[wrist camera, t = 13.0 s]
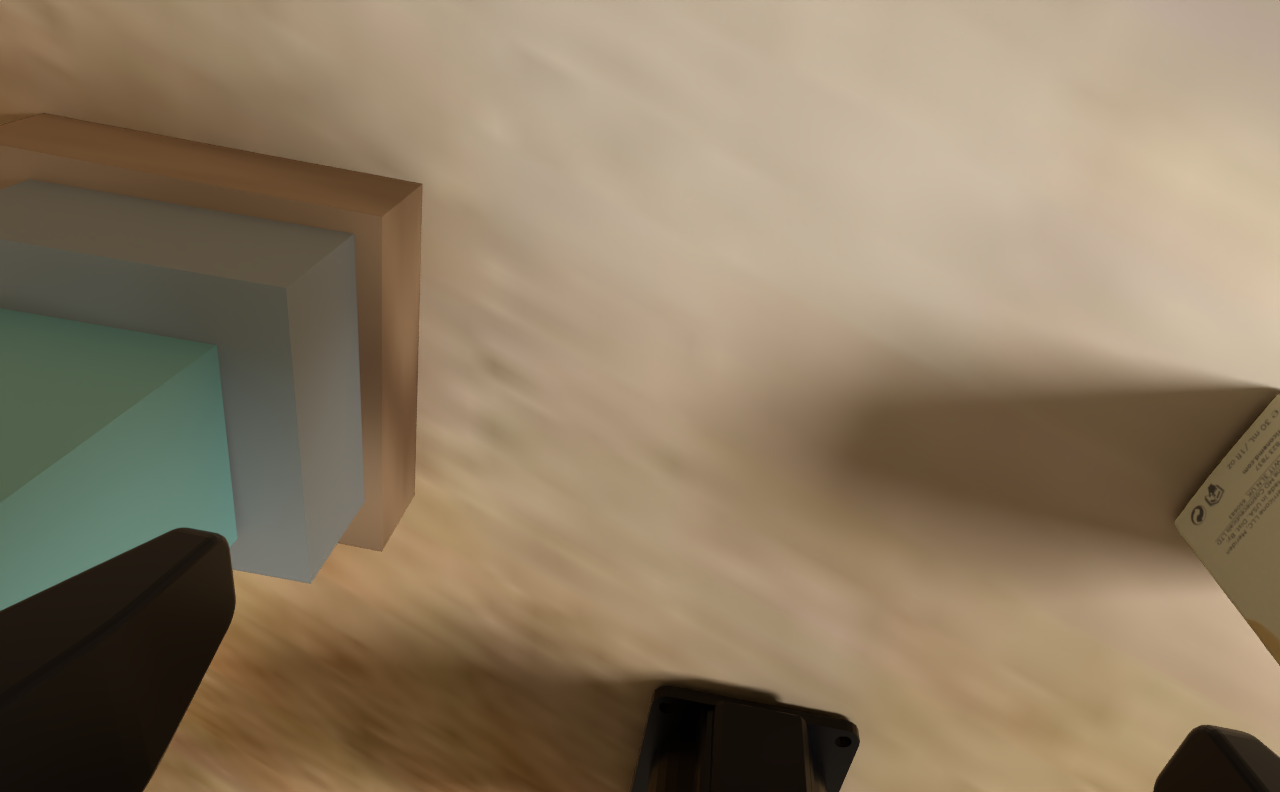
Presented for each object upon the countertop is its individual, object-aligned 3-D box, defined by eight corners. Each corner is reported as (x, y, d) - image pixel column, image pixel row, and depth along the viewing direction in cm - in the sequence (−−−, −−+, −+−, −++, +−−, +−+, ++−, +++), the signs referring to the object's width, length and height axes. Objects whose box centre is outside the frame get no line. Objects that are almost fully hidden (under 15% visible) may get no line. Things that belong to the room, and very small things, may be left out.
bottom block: (420, 484, 24) (381, 551, 22) (117, 425, 25) (43, 485, 22) (429, 178, 20) (381, 216, 17) (59, 109, 20) (-44, 136, 17)
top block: (364, 501, 21) (310, 583, 18) (92, 453, 21) (1, 527, 19) (354, 233, 18) (285, 287, 15) (29, 179, 18) (-94, 223, 15)
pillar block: (237, 538, 18) (24, 783, 12) (30, 502, 18) (-268, 729, 13) (216, 344, 16) (-49, 538, 10) (-18, 305, 16) (-399, 476, 10)
